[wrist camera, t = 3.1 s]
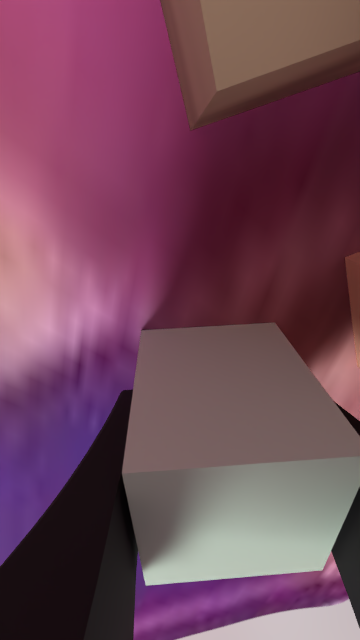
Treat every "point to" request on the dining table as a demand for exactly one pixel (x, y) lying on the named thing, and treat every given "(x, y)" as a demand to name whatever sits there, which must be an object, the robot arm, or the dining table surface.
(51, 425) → the dining table surface
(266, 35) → the walnut base
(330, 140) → the dining table surface
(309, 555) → the sage cube
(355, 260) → the terracotta cube
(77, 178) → the dining table surface
